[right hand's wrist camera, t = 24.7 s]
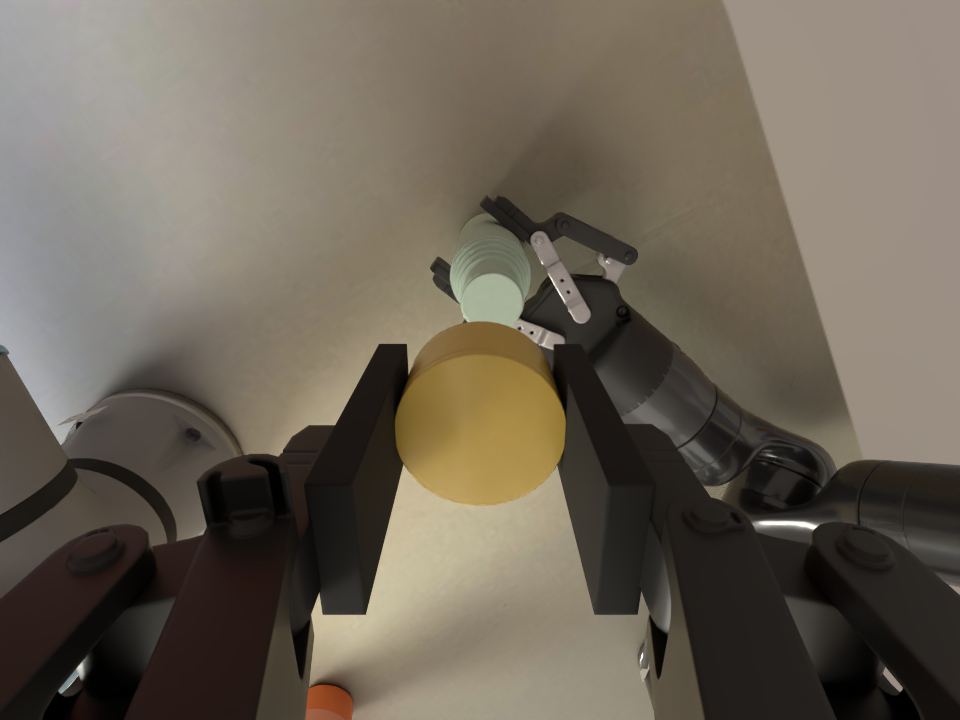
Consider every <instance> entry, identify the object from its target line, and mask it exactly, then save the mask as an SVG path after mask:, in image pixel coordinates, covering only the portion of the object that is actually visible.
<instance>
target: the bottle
mask: <svg viewBox="0 0 960 720" xmlns="http://www.w3.org/2000/svg"><path fill="white" fill-rule="evenodd" d="M450 282H451V287H452V290H453V293H454V295H455V297H456V299H457V300H458V302H459V303H460V308H461V311H462V314H463V316H464V318H465V319H466V321H467V322H475V321H488V322H495V323H500V324H503V325H507V326H509V327H513V324H514V323H515V322H516V321H517V320H518V318H519V317H520V315H521V313H522V311H523V307H524V299H525V297H526V296H527V293H528V291H529V288H530V282H531V268H530V264H529V261H528V258H527V256H526V254H525V252H524V250H523V247H522V245H521V243H520V241H519V239H518V238H517V237H516V236H515V235H514V234H513V233H512V232H510V231H509V230H508V229H507V228H505V227H504V226H503V225H502V224H501V223H500V222H498V221H497V220H496V219H495V218H494V217H493V216H491V215H490V214H489V213H484V214H479V215H477V216H475V217H473V218H471V219H470V220H469V221H468V222H467V223H466V224H465V226H464V227H463V229H462V231H461V233H460V237H459V240H458V244H457V247H456V251H455V254H454V258H453V261H452V265H451V269H450Z"/></svg>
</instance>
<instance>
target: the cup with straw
mask: <svg viewBox="0 0 960 720" xmlns="http://www.w3.org/2000/svg"><path fill="white" fill-rule="evenodd" d="M352 712H353V701H352V699H351V697H350V695H349V694H348V693H347V692H345V691H344V690H342V689H341V688H338V687H336V686H332V685H317V686H314V687H311V688H309V689H308V698H307V708H306V717H305V720H352Z"/></svg>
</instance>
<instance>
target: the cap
mask: <svg viewBox="0 0 960 720" xmlns="http://www.w3.org/2000/svg"><path fill="white" fill-rule="evenodd" d="M565 429H566V416H565V411H564V408H563V405H562V401H561V398H560V395H559V392H558V388H557V385H556V382H555V379H554V376H553V372H552V370H551V367H550V364H549V362H548V360H547V358H546V356H545V354H544V353H543V352H542V350H541V349H540V348H539V347H538V346H537V344H536V343H535V342H534V341H533V340H531V339H530V338H529V337H528V336H526V335H525V334H523V333H522V332H520V331H518V330H516V329H514V328H512V327H509V326H507V325H503V324H500V323H495V322H488V321H475V322H467V323H463V324H458V325H455V326H453V327H450V328H448V329H446V330H444V331H442V332H440V333H439V334H437V335H436V336H435V337H433V338H432V339H431V340H430V341H429V342H428V343H427V344H425V346H424V347H423V348H422V349H421V351H420V352H419V353H418V355H417V357H416V358H415V360H414V363H413V365H412V367H411V370H410V373H409V376H408V379H407V382H406V384H405V387H404V390H403V393H402V396H401V399H400V402H399V404H398V407H397V411H396V415H395V434H396V447H397V450H398V453H399V456H400V458H401V460H402V462H403V464H404V465H405V467H406V468H407V470H408V471H409V473H410V474H411V475H412V476H413V477H414V478H415V479H416V480H417V481H418V482H419V483H420V484H421V485H422V486H424V487H425V488H426V489H428V490H429V491H431V492H432V493H434V494H436V495H438V496H440V497H442V498H444V499H447V500H450V501H452V502H456V503H460V504H466V505H473V506H487V505H496V504H501V503H506V502H509V501H512V500H515V499H518V498H520V497H522V496H524V495H526V494H528V493H529V492H531V491H533V490H534V489H536V488H537V487H538V486H539V485H541V484H542V483H543V482H544V481H545V480H546V479H547V478H548V477H549V476H550V474H551V473H552V472H553V471H554V469H555V468H556V466H557V464H558V462H559V461H560V459H561V456H562V454H563V451H564V444H565Z"/></svg>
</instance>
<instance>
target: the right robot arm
mask: <svg viewBox="0 0 960 720" xmlns="http://www.w3.org/2000/svg"><path fill="white" fill-rule="evenodd" d="M8 354H9V352H8V350H7V349H6V348H5V347H4V346H2V345H0V720H305V717H306V708H307V698H308V689H309V680H310V670H311V661H312V651H313V642H314V631H313V625H312V618H311V613H312V610H313V608H314V605H315V602H316V600H317V597H318V594H319V592H320V599H321V606H322V613H323V615H366V612H367V608H368V604H369V600H370V596H371V592H372V588H373V584H374V580H375V576H376V572H377V568H378V564H379V560H380V556H381V552H382V548H383V544H384V540H385V536H386V532H387V528H388V524H389V520H390V516H391V512H392V508H393V504H394V500H395V496H396V492H397V487H398V483H399V479H400V475H401V471H402V467H403V462H402V460H401V458H400V456H399V453H398V450H397V447H396V434H395V415H396V411H397V407H398V404H399V402H400V399H401V396H402V393H403V390H404V387H405V384H406V382H407V379H408V376H409V375H408V357H407V344H379V345H378V347H377V349H376V351H375V353H374V355H373V357H372V358H371V360H370V362H369V364H368V366H367V368H366V369H365V371H364V373H363V375H362V377H361V379H360V381H359V382H358V384H357V386H356V388H355V390H354V392H353V394H352V395H351V397H350V399H349V401H348V403H347V405H346V407H345V408H344V410H343V412H342V414H341V416H340V418H339V419H338V421H337V423H336V425H309V426H307V427H306V428H305V429H303V430H302V431H300V432H299V433H297V434H296V435H294V436H293V437H292V438H291V439H290V441H289V442H288V444H287V445H286V447H285V448H284V450H283V453H281V454H280V456H279V457H277V456H273V455H269V454H249V455H244V456H242V453H241V451H240V448H239V446H238V444H237V442H236V440H235V439H234V437H233V436H232V434H231V433H230V431H229V430H228V429H227V428H226V426H225V425H224V424H223V423H222V422H221V421H220V420H219V419H218V418H217V417H216V416H214V415H213V414H212V413H211V412H209V411H208V410H207V409H205V408H204V407H202V406H201V405H199V404H197V403H195V402H194V401H192V400H190V399H187V398H185V397H183V396H180V395H177V394H174V393H170V392H167V391H161V390H154V389H134V390H128V391H123V392H120V393H117V394H114V395H112V396H110V397H108V398H106V399H104V400H103V401H101V402H99V403H98V404H96V405H95V406H93V407H92V408H90V409H89V410H88V411H86V412H85V413H83V414H80V415H77V416H74V417H71V418H69V419H67V420H66V421H64V422H62V423H61V424H64V423H68V422H71V421H74V420H77V419H78V420H77V422H76V423H75V424H74V425H73V427H72V428H71V430H70V431H69V433H68V435H67V437H66V440H65V442H64V443H63V444H62V445H60V444H59V442H58V441H57V439H56V437H55V436H54V434H53V432H52V431H51V429H50V427H49V426H48V424H47V422H46V421H45V419H44V417H43V416H42V414H41V412H40V410H39V409H38V407H37V405H36V404H35V402H34V400H33V399H32V397H31V395H30V394H29V392H28V390H27V388H26V387H25V385H24V383H23V382H22V380H21V378H20V377H19V375H18V373H17V371H16V370H15V368H14V366H13V365H12V363H11V361H10V360H9V358H8V356H7V355H8ZM552 372H553V376H554V379H555V382H556V385H557V388H558V392H559V395H560V398H561V401H562V405H563V408H564V411H565V416H566V429H565V444H564V451H563V454H562V456H561V459H560V461H559V462H558V464H557V466H558V470H559V474H560V478H561V482H562V486H563V490H564V494H565V498H566V502H567V506H568V510H569V514H570V518H571V522H572V526H573V530H574V534H575V538H576V542H577V546H578V550H579V554H580V558H581V562H582V566H583V570H584V574H585V578H586V582H587V586H588V590H589V594H590V598H591V602H592V606H593V610H594V614H595V615H638V608H639V601H640V595H641V591H642V593H643V596H644V599H645V601H646V604H647V607H648V609H649V618H648V625H647V631H646V637H645V643H644V650H643V656H642V663H641V668H643V669H648V664H649V669H650V678H651V688H652V697H653V707H654V716H655V720H960V595H959V594H958V593H957V592H955V591H954V590H953V589H952V588H951V587H950V586H949V585H948V584H946V583H945V582H944V581H943V580H942V579H941V578H940V577H938V576H937V575H936V574H935V573H934V572H933V571H932V570H930V569H929V568H928V567H927V566H926V565H925V564H924V563H922V562H921V561H920V560H919V559H918V558H917V557H916V556H914V555H913V554H912V553H911V552H910V551H909V550H907V549H906V548H905V547H903V546H902V545H900V544H899V543H897V542H896V541H895V540H893V539H892V538H890V537H888V536H885V535H883V534H881V533H879V532H877V531H875V530H873V529H871V528H868V527H865V526H861V525H857V524H852V523H843V522H829V523H824V524H820V525H819V526H818V527H816V528H815V529H814V530H813V532H812V535H811V539H810V542H809V544H806V543H801V542H796V541H791V540H787V539H782V538H777V537H772V536H768V535H765V534H761V533H758V532H756V531H755V528H754V526H753V524H752V523H751V522H750V520H749V519H748V518H747V516H746V515H745V514H743V513H742V512H741V511H739V510H738V509H737V508H735V507H734V506H732V505H730V504H728V503H725V502H723V501H721V500H718V499H715V498H711V497H710V496H709V494H708V493H707V491H706V490H705V488H704V487H703V485H702V484H701V482H700V481H699V479H698V478H697V476H696V475H695V474H694V472H693V471H692V469H691V468H690V466H689V465H688V463H685V459H684V457H683V456H682V454H681V453H680V451H678V448H677V447H676V445H675V444H674V443H673V441H672V440H671V438H670V437H669V435H667V434H666V433H664V432H663V431H661V430H660V429H659V428H657V427H656V426H654V425H653V424H624V422H623V421H622V419H621V417H620V415H619V413H618V411H617V409H616V408H615V406H614V404H613V402H612V400H611V398H610V397H609V395H608V393H607V391H606V389H605V387H604V385H603V384H602V382H601V380H600V378H599V376H598V374H597V372H596V371H595V369H594V367H593V365H592V363H591V361H590V360H589V358H588V356H587V354H586V352H585V350H584V348H583V347H582V345H581V344H554V346H553V364H552ZM61 424H59V425H61ZM885 667H886V668H887V669H888V670H889V671H890V673H891V674H892V675H893V676H894V677H895V679H896V680H897V681H898V682H899V683H900V685H901V686H902V687H903V690H902V691H901V692H899V691H898V690H897V689H896V688H895V687H894V686H893V685H892V684H891V683H890V682H889V681H888V680H887V678H886V677H885V676H884V675H883V671H884V669H885ZM78 675H79V676H78ZM77 676H78V677H77ZM76 677H77V678H76ZM75 678H76V679H75ZM74 679H75V681H74V682H73V683H72V684H71V682H72V681H73V680H74ZM70 684H71V686H70V687H68V686H69V685H70ZM67 687H68V688H67ZM66 688H67V689H66ZM65 689H66V690H65ZM64 690H65V691H64ZM63 691H64V692H63ZM62 692H63V693H62Z"/></svg>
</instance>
